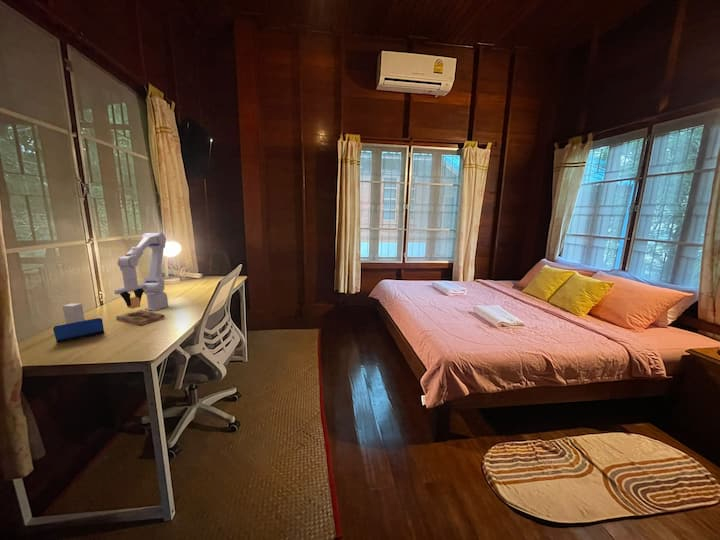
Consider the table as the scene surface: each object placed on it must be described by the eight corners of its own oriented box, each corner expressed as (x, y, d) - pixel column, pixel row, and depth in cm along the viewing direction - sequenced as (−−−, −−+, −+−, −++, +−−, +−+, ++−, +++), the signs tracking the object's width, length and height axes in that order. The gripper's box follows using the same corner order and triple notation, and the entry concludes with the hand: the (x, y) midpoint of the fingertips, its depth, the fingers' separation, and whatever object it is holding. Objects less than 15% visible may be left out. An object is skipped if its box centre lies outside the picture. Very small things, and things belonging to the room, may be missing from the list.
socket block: (141, 313, 168) (141, 309, 168) (164, 318, 160) (164, 314, 159) (116, 320, 157) (116, 316, 157) (140, 325, 149) (139, 322, 148)
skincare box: (86, 327, 147) (82, 303, 145) (77, 330, 143) (73, 306, 141) (75, 326, 148) (70, 303, 146) (66, 330, 144) (61, 305, 142)
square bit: (135, 305, 162) (134, 296, 161) (140, 306, 160) (139, 297, 159) (127, 307, 158) (126, 298, 157) (132, 308, 157) (130, 299, 156)
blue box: (103, 329, 145) (100, 310, 144) (105, 337, 136) (102, 317, 134) (57, 338, 135) (53, 318, 133) (56, 347, 125) (52, 326, 124)
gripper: (140, 276, 165) (143, 300, 167) (109, 281, 152) (113, 307, 154) (148, 277, 162) (151, 301, 164) (117, 282, 149) (121, 309, 151)
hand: (133, 304), depth 159 cm, fingers closed on square bit, 4 cm apart
